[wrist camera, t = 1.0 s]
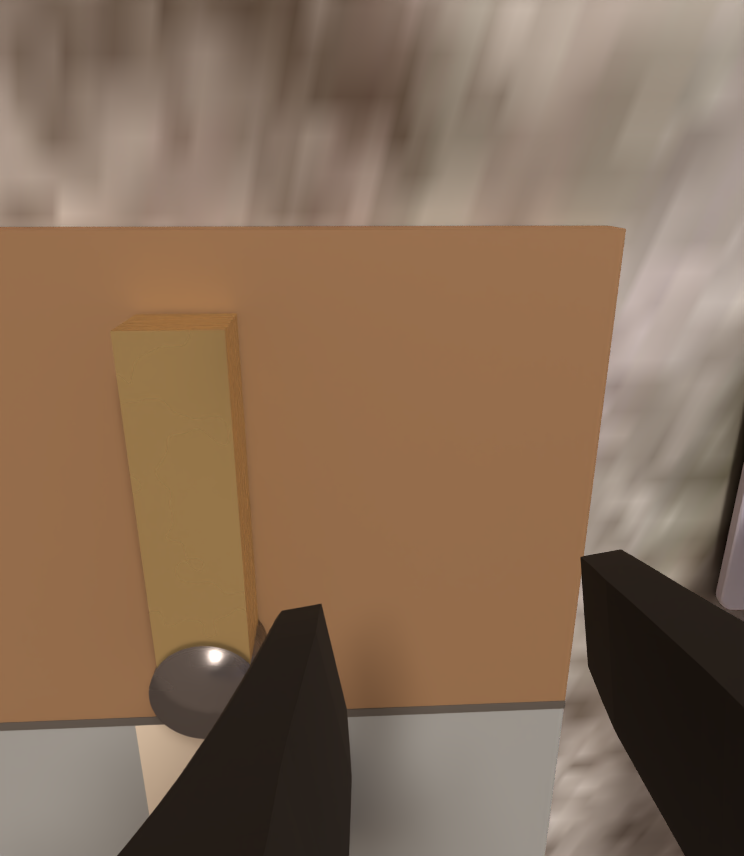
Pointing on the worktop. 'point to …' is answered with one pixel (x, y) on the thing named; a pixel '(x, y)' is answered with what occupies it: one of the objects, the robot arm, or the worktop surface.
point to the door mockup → (312, 511)
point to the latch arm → (190, 508)
